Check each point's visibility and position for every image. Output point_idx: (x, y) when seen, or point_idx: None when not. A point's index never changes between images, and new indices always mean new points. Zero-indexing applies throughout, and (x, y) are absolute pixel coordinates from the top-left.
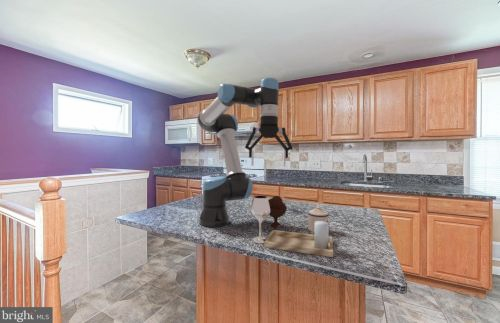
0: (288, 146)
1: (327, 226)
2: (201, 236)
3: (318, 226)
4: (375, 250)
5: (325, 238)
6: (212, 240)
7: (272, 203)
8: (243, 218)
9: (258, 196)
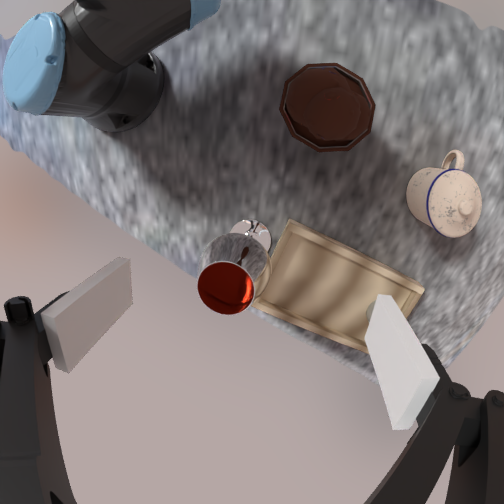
0: (482, 424)
1: None
2: (105, 203)
3: None
4: (471, 312)
5: None
6: (132, 230)
7: (309, 130)
8: (214, 38)
9: (220, 259)
